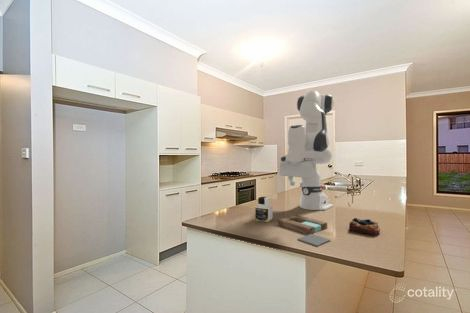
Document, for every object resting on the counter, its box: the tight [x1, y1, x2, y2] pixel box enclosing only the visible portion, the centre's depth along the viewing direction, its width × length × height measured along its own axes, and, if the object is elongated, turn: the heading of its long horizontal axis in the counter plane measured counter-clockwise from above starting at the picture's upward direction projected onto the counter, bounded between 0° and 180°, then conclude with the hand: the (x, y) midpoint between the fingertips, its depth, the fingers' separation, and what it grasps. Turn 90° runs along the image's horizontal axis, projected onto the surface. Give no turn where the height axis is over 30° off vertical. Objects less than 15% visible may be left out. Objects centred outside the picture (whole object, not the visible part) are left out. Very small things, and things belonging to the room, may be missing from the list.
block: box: [302, 221, 322, 233], centre depth 111 cm, size 5×8×2 cm, turn 38°
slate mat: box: [297, 233, 331, 247], centre depth 96 cm, size 9×9×1 cm
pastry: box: [348, 217, 381, 237], centre depth 107 cm, size 11×12×6 cm
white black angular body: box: [254, 196, 273, 223], centre depth 127 cm, size 7×7×12 cm
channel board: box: [277, 214, 328, 235], centre depth 115 cm, size 14×18×2 cm
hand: (297, 186), depth 117 cm, fingers open, 5 cm apart
